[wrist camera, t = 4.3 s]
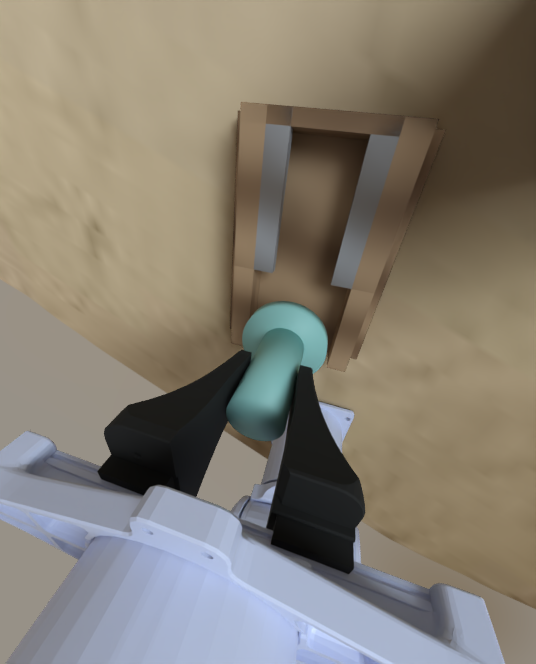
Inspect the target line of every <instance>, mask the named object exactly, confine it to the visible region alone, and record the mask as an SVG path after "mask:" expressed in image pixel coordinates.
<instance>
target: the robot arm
mask: <svg viewBox="0 0 536 664" xmlns="http://www.w3.org/2000/svg"><path fill="white" fill-rule="evenodd" d="M251 355H252V352H248V351H244V350H241V351H239V352H238V353H236V354H235V355H234V356H233V357H231V358H230V359H229V360H227V361H226V362H225V363H223V364H222V365H220V366H219V367H218V368H216V369H215V370H213V371H212V372H210V373H208V374H207V375H205V376H204V377H202V378H200V379H198V380H197V381H195V382H193V383H191V384H189V385H187V386H184V387H182V388H180V389H177V390H175V391H173V392H170V393H167V394H165V395H162V396H159V397H156V398H153V399H149V400H146V401H142V402H138V403H134V404H130V405H128V406H127V407H126V408H125V409H124V410H122V411H121V412H120V414H119V415H118V416H117V417H116V418H115V419H114V420H113V421H112V422H111V423H110V424H109V425H108V426H107V427H106V428H105V431H104V436H105V440H106V442H107V445H108V447H109V450H110V452H111V456H110V457H109V458H108V459H107V461H106V462H105V463H104V464H103V465H102V466H98V465H96V464H93V463H91V462H88V461H85V460H83V459H80V458H77V457H74V456H72V455H69V454H67V453H64V452H61V451H58V450H57V448H56V445H55V444H54V442H53V441H51V440H50V439H49V438H47V437H45V436H42V435H39V434H37V433H34V432H31V431H26V432H24V433H23V434H22V435H20V436H19V437H18V438H16V439H15V440H14V441H13V442H11V443H10V444H9V445H7V446H6V447H5V448H4V449H2V450H1V451H0V520H2V521H5V522H7V523H9V524H11V525H13V526H15V527H17V528H19V529H21V530H23V531H25V532H27V533H29V534H31V535H33V536H35V537H36V538H38V539H40V540H42V541H44V542H46V543H48V544H50V545H52V546H54V547H56V548H57V549H59V550H61V551H63V552H65V553H67V554H68V555H71V556H72V557H74V558H76V559H78V561H77V563H76V565H75V566H74V567H73V569H72V570H71V571H70V573H69V574H68V576H67V577H66V579H65V580H64V581H63V583H62V584H61V586H60V587H59V588H58V590H57V591H56V593H55V594H54V595H53V597H52V598H51V600H50V601H49V602H48V604H47V605H46V607H45V608H44V609H43V611H42V612H41V614H40V615H39V616H38V618H37V619H36V621H35V622H34V624H33V625H32V626H31V628H30V629H29V631H28V632H27V633H26V635H25V636H24V638H23V639H22V640H21V642H20V643H19V645H18V646H17V648H16V649H15V650H14V652H13V653H12V655H11V656H10V657H9V659H8V660H7V662H6V663H5V664H505V662H504V659H503V656H502V653H501V650H500V647H499V644H498V641H497V638H496V635H495V632H494V629H493V626H492V623H491V620H490V617H489V614H488V611H487V608H486V605H485V602H484V600H483V599H482V598H481V597H480V596H478V595H475V594H472V593H470V592H467V591H464V590H461V589H459V588H456V587H453V586H451V585H447V584H442V583H438V584H434V585H433V586H432V587H431V588H430V589H427V588H425V587H422V586H419V585H417V584H414V583H411V582H409V581H406V580H403V579H401V578H398V577H395V576H393V575H390V574H387V573H385V572H382V571H379V570H377V569H374V568H371V567H368V566H366V565H363V564H361V556H360V539H359V529H358V528H357V525H358V524H359V522H360V521H361V520H362V519H363V517H364V515H365V503H364V497H363V492H362V487H361V483H360V480H359V478H358V477H357V475H356V474H355V472H354V471H353V470H352V468H351V467H350V465H349V464H348V462H347V461H346V459H345V457H344V456H343V454H342V442H343V440H344V438H345V435H346V433H347V431H348V429H349V427H350V424H351V422H352V420H353V418H354V413H353V411H351V410H347V409H344V408H340V407H336V406H333V405H329V404H326V403H322V402H318V399H317V395H316V391H315V386H314V381H313V370H312V368H310V367H307V366H303V365H300V368H299V372H298V376H297V380H296V385H295V390H294V395H293V399H292V403H291V407H290V411H289V416H288V420H287V424H286V428H285V431H284V433H283V435H282V436H281V437H279V438H278V439H275V440H272V441H271V444H272V447H271V450H270V454H269V457H268V461H267V465H266V468H265V472H264V475H263V479H262V482H261V485H259V484H255V485H254V488H253V491H252V494H251V496H243V497H242V498H241V499H240V500H239V501H238V503H236V504H235V506H234V507H233V508H232V510H231V511H229V510H227V509H225V508H223V507H221V506H219V505H216V504H213V503H211V502H208V501H205V500H202V499H200V498H197V497H196V496H197V494H198V491H199V488H200V486H201V483H202V480H203V478H204V475H205V473H206V470H207V468H208V465H209V463H210V460H211V458H212V455H213V453H214V451H215V448H216V446H217V443H218V441H219V439H220V437H221V434H222V432H223V430H224V428H225V426H226V424H227V422H228V419H227V416H226V408H227V406H228V404H229V402H230V400H231V398H232V396H233V394H234V392H235V391H236V389H237V387H238V385H239V383H240V381H241V379H242V377H243V375H244V373H245V372H246V370H247V368H248V366H249V364H250V362H251ZM347 417H348V418H347Z"/></svg>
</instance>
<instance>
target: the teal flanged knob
mask: <svg viewBox="0 0 536 664" xmlns="http://www.w3.org/2000/svg"><path fill="white" fill-rule="evenodd" d="M242 343H243V347H244V350H245V351H248V352H252V355H251V362H250V364H249V366H248V368H247V370H246V372H245V373H244V375H243V377H242V379H241V381H240V383H239V385H238V387H237V389H236V391H235V392H234V394H233V396H232V398H231V400H230V402H229V404H228V406H227V408H226V416H227V419H228V421H229V423H230V424H231V425H232V427H233V428H234V429H236V430H237V431H238V432H239V433H241V434H242V435H244V436H246V437H248V438H251V439H254V440H259V441H272V440H275V439H278V438H279V437H281V436H282V435H283V433H284V431H285V428H286V424H287V420H288V416H289V411H290V407H291V403H292V399H293V395H294V390H295V385H296V380H297V376H298V372H299V368H300V365H303V366H307V367H310V368H312V370H313V373H315V372H316V371H317V370H318V369H319V368H320V367H321V366H322V364H323V363H324V360H325V358H326V354H327V345H328V336H327V331H326V328H325V326H324V324H323V322H322V321H321V320H320V318H319V317H318V316H317V315H316V314H315V313H314V312H313V311H311V310H310V309H308V308H307V307H305V306H303V305H301V304H298V303H295V302H290V301H275V302H271V303H268V304H265V305H263V306H262V307H260V308H259V309H257V310H256V311H255V312H254V314H253V315H252V316H251V318H250V319H249V320H248V322H247V323H246V325H245V327H244V330H243V335H242Z"/></svg>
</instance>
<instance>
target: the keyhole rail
mask: <svg viewBox="0 0 536 664" xmlns="http://www.w3.org/2000/svg"><path fill="white" fill-rule="evenodd" d="M438 121H439V119H433V118H421V117H410V116H398V115H387V114H375V113H363V112H352V111H340V110H329V109H317V108H305V107H294V106H282V105H271V104H259V103H248V102H241V108H240V111H238V124H237V152H236V180H235V207H234V235H233V263H232V291H231V319H230V329H232V334H231V343H233V344H237V345H241V346H243V343H242V335H243V330H244V327H245V325H246V323H247V322H248V320H249V319H250V318H251V316H252V315H253V314H254V312H255V311H256V310H257V309H259V308H260V307H262V306H263V305H265V304H268V303H271V302H275V301H290V302H295V303H298V304H301V305H303V306H305V307H307V308H308V309H310V310H311V311H313V312H314V313H315V314H316V315H317V316H318V317H319V318H320V320H321V321H322V322H323V324H324V326H325V328H326V331H327V336H328V345H327V352H328V360H327V368H331V369H335V370H339V371H343V372H345V371H346V368H347V365H348V363H349V360H350V358H353V359H357V357H358V354H359V351H360V349H361V346H362V344H363V341H364V339H365V336H366V333H367V331H368V328H369V326H370V323H371V321H372V318H373V316H374V313H375V310H376V308H377V305H378V303H379V300H380V298H381V295H382V292H383V290H384V287H385V285H386V282H387V280H388V277H389V275H390V272H391V269H392V267H393V264H394V262H395V259H396V257H397V254H398V251H399V249H400V246H401V244H402V241H403V239H404V236H405V234H406V231H407V228H408V226H409V223H410V221H411V218H412V216H413V213H414V210H415V208H416V205H417V203H418V200H419V198H420V195H421V193H422V190H423V187H424V185H425V182H426V180H427V177H428V175H429V172H430V169H431V167H432V164H433V162H434V159H435V157H436V154H437V152H438V149H439V146H440V144H441V141H442V139H443V136H444V134H445V131H446V130H443V129H436V126H437V124H438Z"/></svg>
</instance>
